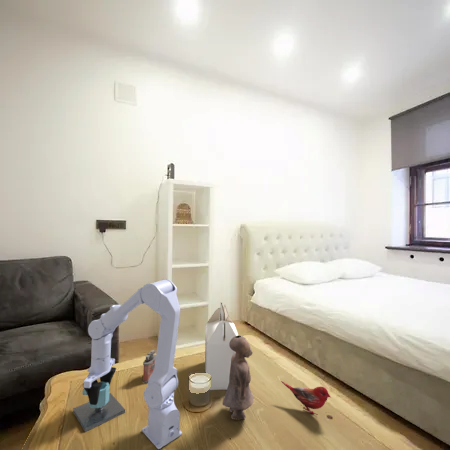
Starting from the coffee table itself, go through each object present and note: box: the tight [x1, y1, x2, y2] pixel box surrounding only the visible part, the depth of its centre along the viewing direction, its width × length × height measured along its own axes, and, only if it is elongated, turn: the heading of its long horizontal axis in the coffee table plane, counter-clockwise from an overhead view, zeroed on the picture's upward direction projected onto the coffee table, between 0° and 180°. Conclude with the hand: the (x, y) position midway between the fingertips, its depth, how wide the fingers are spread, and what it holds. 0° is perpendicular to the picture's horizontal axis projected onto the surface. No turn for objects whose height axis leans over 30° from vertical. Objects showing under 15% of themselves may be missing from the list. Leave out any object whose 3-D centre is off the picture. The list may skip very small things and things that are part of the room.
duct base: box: [72, 392, 126, 433], centre depth 84 cm, size 12×12×5 cm
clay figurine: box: [222, 334, 255, 421], centre depth 85 cm, size 13×10×25 cm
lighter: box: [142, 349, 156, 384], centre depth 105 cm, size 8×3×10 cm, turn 168°
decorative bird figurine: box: [280, 380, 332, 416], centre depth 87 cm, size 3×18×10 cm, turn 49°
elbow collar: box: [81, 381, 111, 408], centre depth 84 cm, size 8×6×5 cm
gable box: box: [204, 302, 239, 391], centre depth 109 cm, size 22×13×28 cm, turn 5°
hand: (99, 397), depth 84 cm, fingers closed on elbow collar, 6 cm apart
